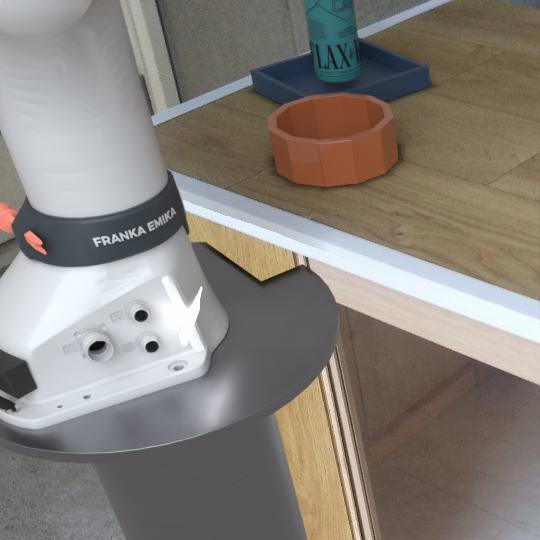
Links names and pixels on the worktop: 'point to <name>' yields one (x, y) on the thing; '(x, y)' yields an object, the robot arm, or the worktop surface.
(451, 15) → the worktop surface
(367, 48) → the tray
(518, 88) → the worktop surface
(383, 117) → the bowl
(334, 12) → the beverage bottle
